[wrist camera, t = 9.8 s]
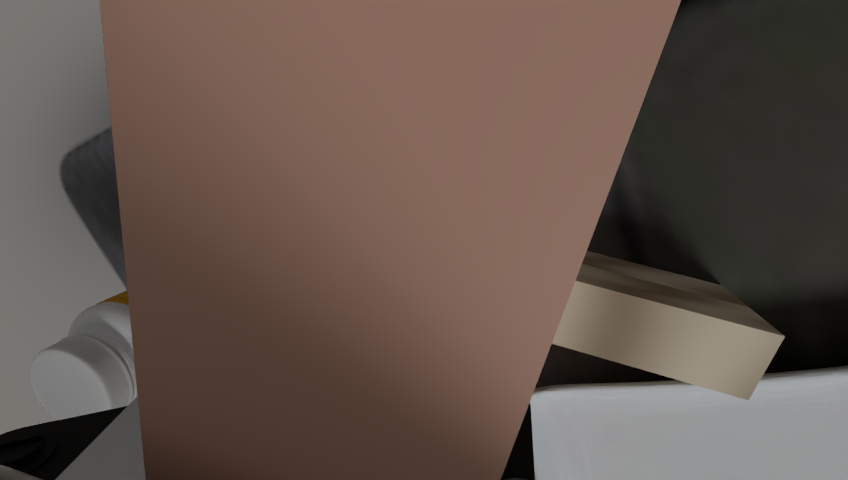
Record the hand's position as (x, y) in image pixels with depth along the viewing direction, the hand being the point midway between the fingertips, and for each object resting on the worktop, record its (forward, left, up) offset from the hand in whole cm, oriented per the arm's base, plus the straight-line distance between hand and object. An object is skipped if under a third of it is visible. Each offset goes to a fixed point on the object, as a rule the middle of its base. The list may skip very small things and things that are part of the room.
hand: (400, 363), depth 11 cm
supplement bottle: (-1, +15, -12) cm, 19 cm away
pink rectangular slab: (+1, 0, -8) cm, 8 cm away
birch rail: (0, 0, -12) cm, 12 cm away
